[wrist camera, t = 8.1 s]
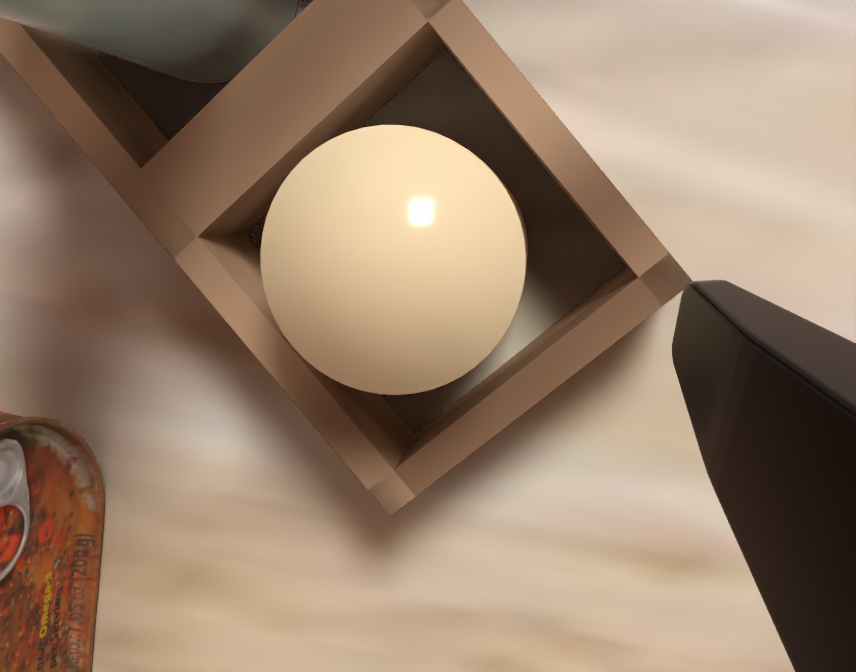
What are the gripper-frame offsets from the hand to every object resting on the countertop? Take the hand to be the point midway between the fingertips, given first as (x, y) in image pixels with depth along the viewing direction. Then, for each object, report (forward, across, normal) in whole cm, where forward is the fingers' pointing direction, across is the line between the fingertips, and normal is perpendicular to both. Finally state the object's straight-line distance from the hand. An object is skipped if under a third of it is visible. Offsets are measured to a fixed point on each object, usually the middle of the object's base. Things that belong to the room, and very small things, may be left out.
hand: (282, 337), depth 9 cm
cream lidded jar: (+11, -2, +5) cm, 12 cm away
